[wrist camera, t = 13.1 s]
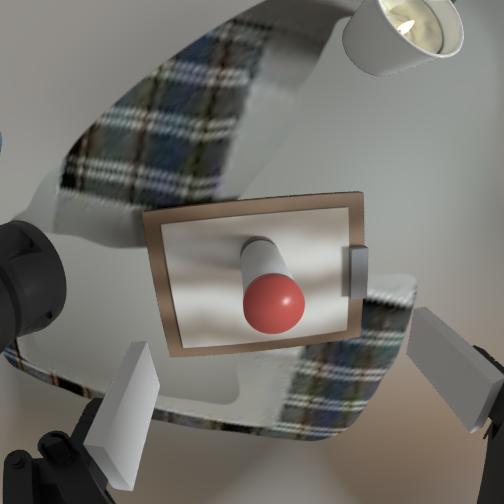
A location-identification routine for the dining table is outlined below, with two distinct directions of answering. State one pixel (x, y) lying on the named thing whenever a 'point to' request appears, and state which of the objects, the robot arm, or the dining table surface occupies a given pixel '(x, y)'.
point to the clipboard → (230, 274)
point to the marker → (269, 288)
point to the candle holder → (401, 34)
